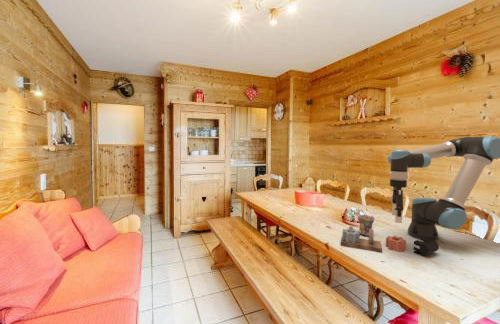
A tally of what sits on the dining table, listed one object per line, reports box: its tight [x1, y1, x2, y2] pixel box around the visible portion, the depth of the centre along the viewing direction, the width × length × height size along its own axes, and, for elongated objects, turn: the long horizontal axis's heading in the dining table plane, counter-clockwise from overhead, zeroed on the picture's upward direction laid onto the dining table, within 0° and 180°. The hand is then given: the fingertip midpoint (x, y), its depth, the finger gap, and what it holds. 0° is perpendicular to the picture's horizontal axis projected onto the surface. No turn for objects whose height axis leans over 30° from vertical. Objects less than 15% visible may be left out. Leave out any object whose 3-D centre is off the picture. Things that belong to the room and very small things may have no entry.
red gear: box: [385, 235, 407, 252], centre depth 125 cm, size 9×9×5 cm
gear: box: [341, 227, 361, 243], centre depth 131 cm, size 9×9×5 cm
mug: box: [357, 214, 376, 237], centre depth 146 cm, size 12×9×11 cm
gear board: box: [340, 225, 383, 253], centre depth 129 cm, size 20×10×10 cm, turn 65°
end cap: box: [412, 238, 440, 257], centre depth 119 cm, size 10×7×7 cm
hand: (396, 218), depth 124 cm, fingers open, 13 cm apart
